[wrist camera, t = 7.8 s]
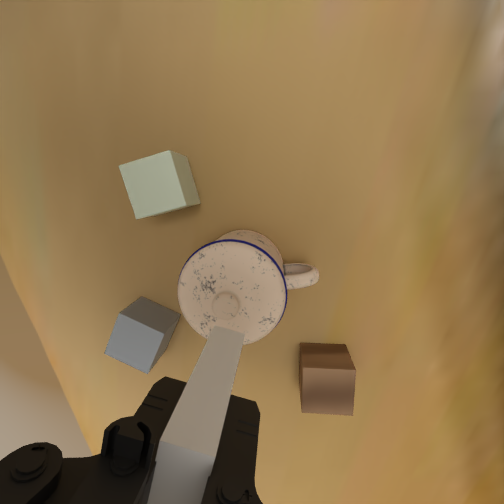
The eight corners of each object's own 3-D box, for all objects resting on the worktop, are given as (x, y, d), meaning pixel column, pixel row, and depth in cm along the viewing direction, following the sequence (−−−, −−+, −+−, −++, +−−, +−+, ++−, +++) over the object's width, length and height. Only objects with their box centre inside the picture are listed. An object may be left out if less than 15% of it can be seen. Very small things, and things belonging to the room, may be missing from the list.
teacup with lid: (210, 311, 34) (175, 370, 23) (197, 232, 32) (151, 254, 21) (317, 300, 33) (335, 358, 21) (308, 218, 31) (323, 233, 20)
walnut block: (300, 342, 34) (303, 367, 29) (345, 344, 33) (355, 370, 29) (299, 381, 35) (301, 412, 30) (342, 383, 34) (352, 415, 30)
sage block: (143, 169, 32) (118, 165, 27) (187, 156, 31) (169, 149, 26) (158, 215, 33) (136, 219, 28) (200, 203, 32) (186, 205, 27)
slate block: (142, 296, 35) (119, 312, 30) (180, 314, 35) (164, 334, 30) (128, 331, 36) (104, 353, 31) (166, 349, 36) (147, 373, 31)
